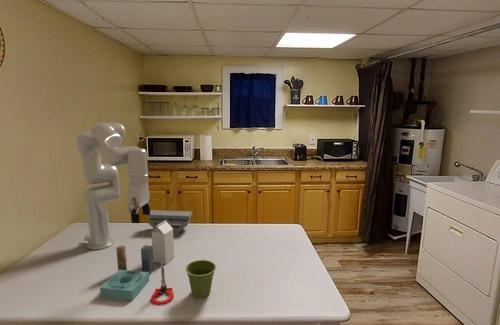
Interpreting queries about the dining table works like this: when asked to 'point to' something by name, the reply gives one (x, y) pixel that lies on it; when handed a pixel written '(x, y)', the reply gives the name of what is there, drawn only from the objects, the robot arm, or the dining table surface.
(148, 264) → the steel square bar
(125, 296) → the bore block
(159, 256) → the milk carton
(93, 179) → the robot arm
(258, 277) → the dining table surface
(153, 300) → the tow hook
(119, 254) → the walnut dowel
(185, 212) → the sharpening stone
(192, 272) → the plant pot
